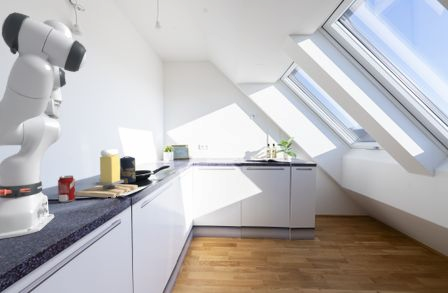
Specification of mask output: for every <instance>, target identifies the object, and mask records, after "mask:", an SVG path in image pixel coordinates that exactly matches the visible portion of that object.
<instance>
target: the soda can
mask: <svg viewBox="0 0 448 293" xmlns="http://www.w3.org/2000/svg"><path fill="white" fill-rule="evenodd" d="M57 189H58V190H57V191H58V193H57V195H58V202H59V203H65V204H66V203H72V202H73V201H75V200H76V179H75V178H74V175H61V176H59V179H57Z"/></svg>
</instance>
